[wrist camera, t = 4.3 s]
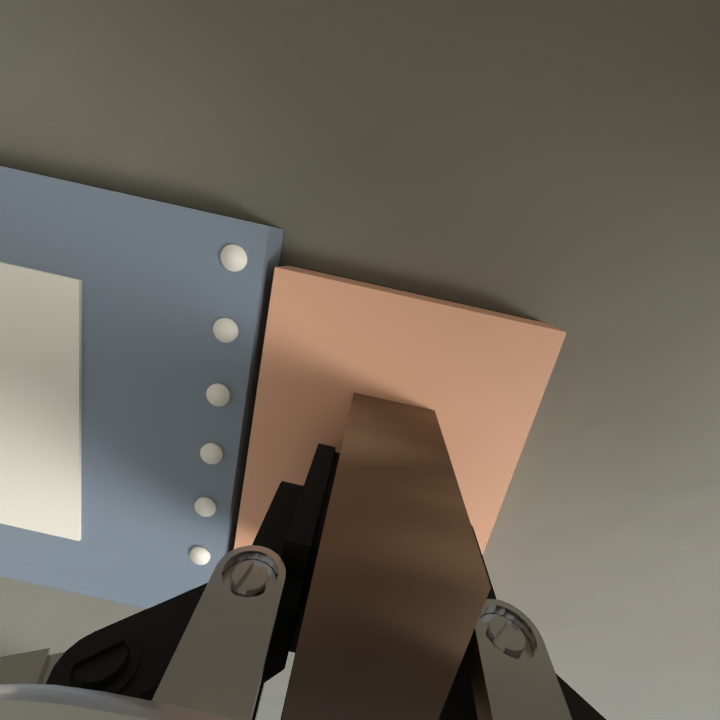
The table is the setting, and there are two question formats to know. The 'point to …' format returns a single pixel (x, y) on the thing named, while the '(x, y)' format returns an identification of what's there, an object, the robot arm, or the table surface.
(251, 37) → the table surface
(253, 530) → the stub
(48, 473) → the board
